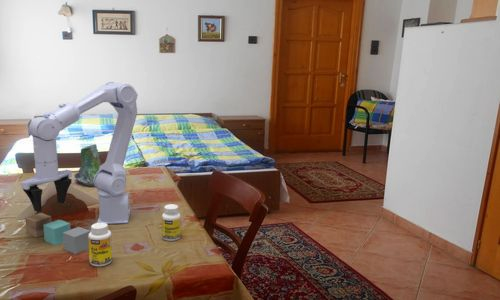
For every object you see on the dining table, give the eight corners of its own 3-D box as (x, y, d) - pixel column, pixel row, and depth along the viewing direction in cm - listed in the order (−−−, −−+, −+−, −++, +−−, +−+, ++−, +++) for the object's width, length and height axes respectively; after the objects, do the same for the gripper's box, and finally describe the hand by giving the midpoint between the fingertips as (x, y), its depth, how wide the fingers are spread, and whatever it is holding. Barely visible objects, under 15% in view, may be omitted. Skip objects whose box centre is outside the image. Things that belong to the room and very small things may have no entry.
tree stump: (119, 190, 168) (105, 147, 163) (71, 199, 169) (56, 157, 165) (132, 174, 185) (120, 136, 181) (88, 183, 187) (75, 145, 182)
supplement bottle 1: (88, 268, 106) (86, 230, 104) (91, 258, 112) (89, 221, 109) (111, 266, 108) (109, 229, 105) (113, 256, 113) (111, 220, 111)
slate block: (79, 243, 120) (78, 226, 119) (91, 247, 118) (90, 231, 117) (64, 249, 116) (62, 232, 115) (75, 254, 114) (74, 237, 112)
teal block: (60, 235, 125) (59, 219, 124) (71, 239, 122) (70, 223, 121) (44, 241, 121) (43, 224, 119) (55, 245, 118) (54, 229, 117)
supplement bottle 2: (162, 242, 122) (162, 210, 120) (161, 234, 127) (160, 203, 125) (181, 240, 124) (181, 209, 121) (179, 233, 129) (179, 202, 127)
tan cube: (42, 228, 129) (41, 212, 128) (52, 232, 127) (51, 216, 126) (26, 233, 125) (25, 217, 124) (36, 237, 123) (35, 221, 121)
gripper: (58, 153, 126) (62, 197, 129) (12, 164, 113) (16, 211, 116) (75, 157, 123) (78, 201, 126) (29, 168, 110) (33, 217, 113)
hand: (49, 206), depth 121 cm, fingers open, 7 cm apart
